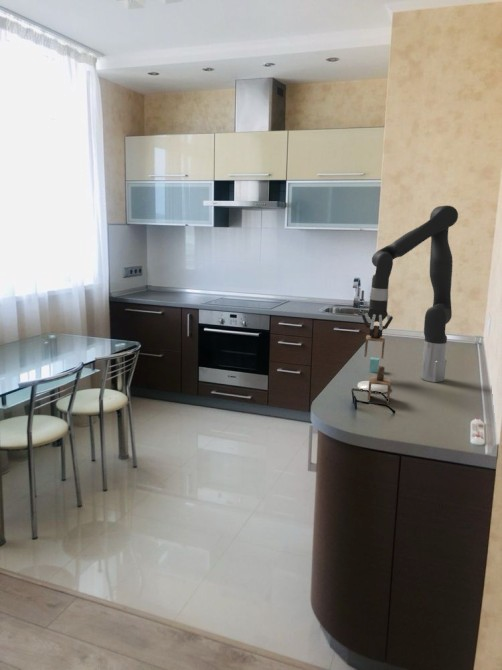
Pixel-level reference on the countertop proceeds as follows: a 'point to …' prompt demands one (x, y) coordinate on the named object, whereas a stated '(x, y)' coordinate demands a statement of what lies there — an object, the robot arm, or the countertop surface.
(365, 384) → the saucer
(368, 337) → the brown forked piece
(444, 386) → the countertop surface
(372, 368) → the block
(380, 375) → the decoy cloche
